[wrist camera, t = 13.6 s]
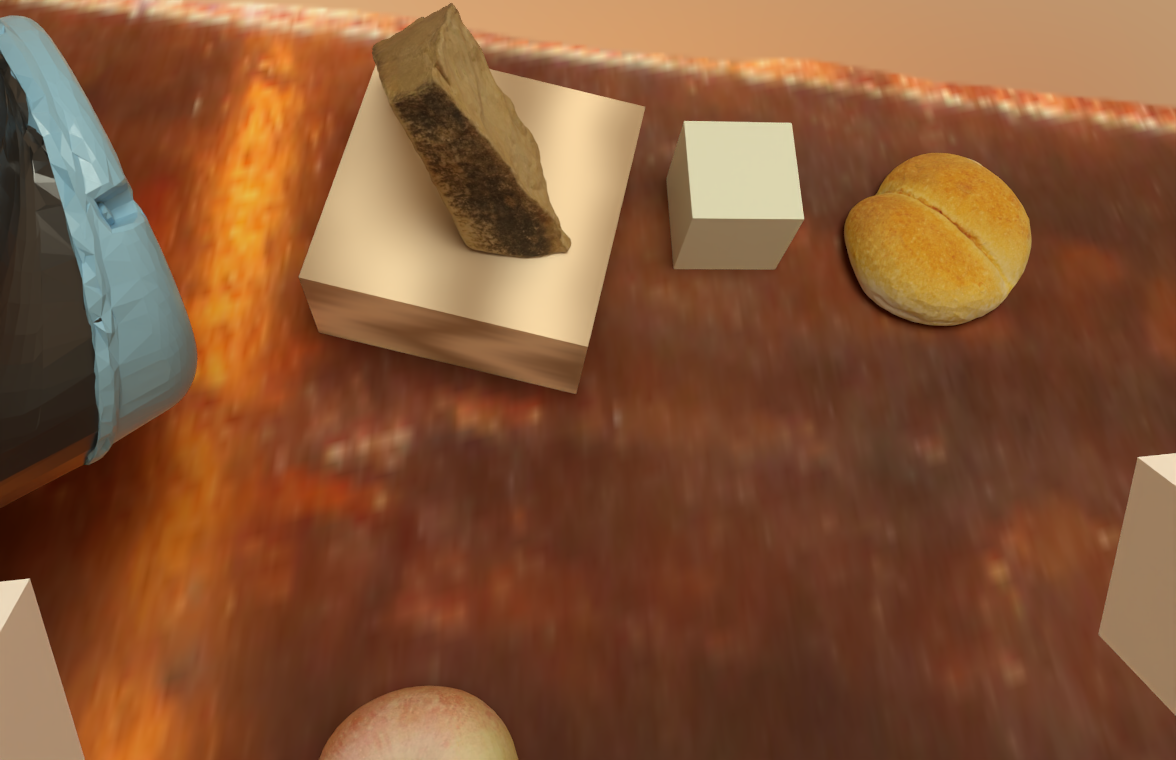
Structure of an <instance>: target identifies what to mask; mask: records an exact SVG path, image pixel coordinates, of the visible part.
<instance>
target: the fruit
mask: <svg viewBox="0 0 1176 760" xmlns="http://www.w3.org/2000/svg"><path fill="white" fill-rule="evenodd" d="M319 760H518V756H517V753H516V749H515V746H514V742H513V740H512V738H511V736H510V733H509V731H508V729H507V727H506V726H505V724H504V723H503V721H502V720H501V719H500V717H499V716H498V715H497V714H496V713H495V712H494V710H493V709H491V708H490V707H489V706H488V705H487V704H485V703H484V702H483V701H482V700H480V699H479V698H477V697H475V696H473V695H471V694H469V693H467V692H465V691H463V690H458V689H454V688H449V687H442V686H417V687H410V688H404V689H400V690H397V691H393V692H390V693H387V694H385V695H382V696H380V697H378V698H376V699H374V700H372V701H370V702H368V703H366V704H364V705H363V706H361V707H360V708H358V709H357V710H356V711H354V712H353V713H352V714H351V715H349V716H348V717H347V718H346V719H345V720H344V721H343V722H342V723H341V724H340V725H339V726H338V727H337V728H336V730H335V731H334V732H333V734H332V735H331V737H330V738H329V739H328V741H327V743H326V745H325V747H324V748H323V750H322V753H321V756H320V758H319Z"/></svg>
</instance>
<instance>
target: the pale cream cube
mask: <svg viewBox="0 0 1176 760" xmlns="http://www.w3.org/2000/svg"><path fill="white" fill-rule="evenodd" d="M666 182H667V194H668V207H669V219H670V232H671V244H672V257H673V269H776V267H777V265H778V263H779V262H780V260H781V258H782V257H783V255H784V253H785V251H786V250H787V248H788V246H789V245H790V243H791V241H792V239H793V238H794V236H795V234H796V232H797V231H798V229H799V227H800V226H801V224H802V222H803V220H804V215H803V207H802V199H801V192H800V184H799V176H798V169H797V161H796V153H795V146H794V138H793V130H792V123H761V122H708V121H684V123H683V126H682V129H681V133H680V136H679V139H678V142H677V146H676V149H675V152H674V155H673V159H672V162H671V165H670V168H669V172H668V175H667V178H666Z"/></svg>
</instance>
